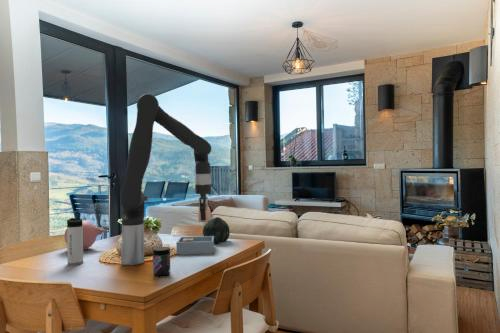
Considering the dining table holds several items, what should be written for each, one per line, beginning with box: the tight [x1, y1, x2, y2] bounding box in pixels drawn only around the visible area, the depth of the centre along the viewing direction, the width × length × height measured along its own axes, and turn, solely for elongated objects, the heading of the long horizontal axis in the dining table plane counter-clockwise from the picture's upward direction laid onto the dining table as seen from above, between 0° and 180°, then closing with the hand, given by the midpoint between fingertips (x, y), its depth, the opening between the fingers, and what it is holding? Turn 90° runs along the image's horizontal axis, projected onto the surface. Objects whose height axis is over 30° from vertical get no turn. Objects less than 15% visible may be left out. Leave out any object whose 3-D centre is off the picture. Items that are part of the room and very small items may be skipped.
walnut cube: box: [183, 238, 194, 242], centre depth 182 cm, size 5×5×5 cm
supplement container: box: [152, 246, 171, 278], centre depth 142 cm, size 7×7×10 cm
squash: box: [202, 216, 231, 244], centre depth 203 cm, size 14×15×15 cm
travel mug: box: [66, 217, 84, 266], centre depth 161 cm, size 6×7×20 cm
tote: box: [175, 235, 215, 255], centre depth 183 cm, size 18×14×6 cm
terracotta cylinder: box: [197, 205, 210, 223], centre depth 171 cm, size 5×5×7 cm
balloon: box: [64, 219, 107, 251], centre depth 189 cm, size 15×20×15 cm
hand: (203, 219), depth 171 cm, fingers closed on terracotta cylinder, 5 cm apart
